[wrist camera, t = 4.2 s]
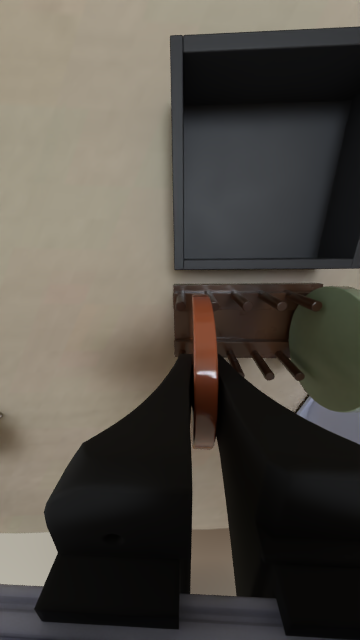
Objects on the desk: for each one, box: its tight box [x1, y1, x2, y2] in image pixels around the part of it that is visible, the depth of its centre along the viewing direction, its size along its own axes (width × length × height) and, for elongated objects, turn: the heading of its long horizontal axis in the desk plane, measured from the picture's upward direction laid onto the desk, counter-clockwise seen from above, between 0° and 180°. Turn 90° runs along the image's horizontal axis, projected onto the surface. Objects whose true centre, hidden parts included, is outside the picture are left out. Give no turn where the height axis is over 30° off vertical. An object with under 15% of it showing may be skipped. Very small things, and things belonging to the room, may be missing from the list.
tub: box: [170, 27, 360, 270], centre depth 12 cm, size 12×11×4 cm
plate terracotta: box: [190, 295, 218, 450], centre depth 11 cm, size 1×8×8 cm, turn 0°
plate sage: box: [289, 286, 360, 413], centre depth 13 cm, size 1×8×8 cm, turn 1°
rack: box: [173, 283, 323, 381], centre depth 15 cm, size 12×7×5 cm, turn 91°
